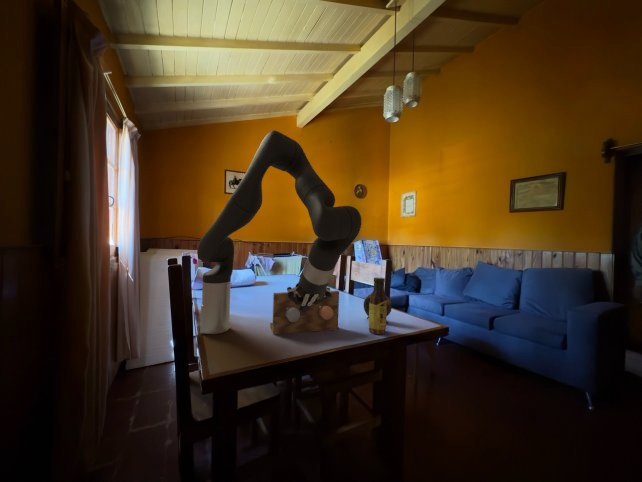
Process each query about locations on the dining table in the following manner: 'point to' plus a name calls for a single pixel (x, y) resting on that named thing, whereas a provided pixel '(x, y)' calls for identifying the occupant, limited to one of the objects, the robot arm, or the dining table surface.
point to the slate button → (292, 314)
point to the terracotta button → (326, 312)
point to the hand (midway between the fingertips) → (302, 309)
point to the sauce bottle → (378, 307)
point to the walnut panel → (303, 315)
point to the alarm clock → (367, 303)
